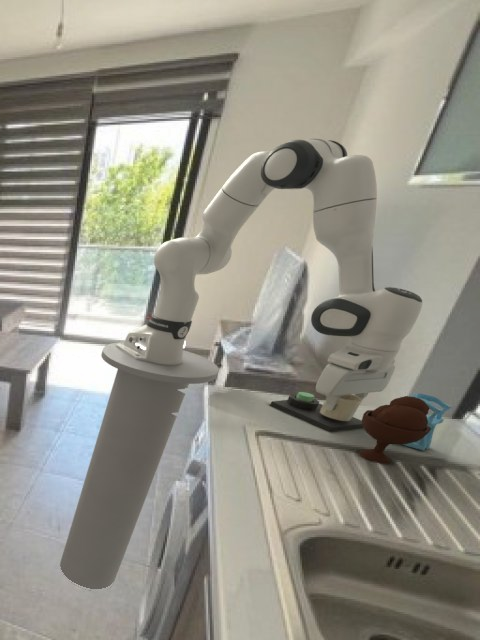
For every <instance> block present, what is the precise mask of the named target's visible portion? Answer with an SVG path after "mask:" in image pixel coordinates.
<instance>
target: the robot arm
mask: <svg viewBox="0 0 480 640" xmlns="http://www.w3.org/2000/svg"><path fill="white" fill-rule="evenodd" d="M275 189H277V190H302V189H306V190H309V191H310V193H311V194H312V198H313V207H312V224H313V225H312V226H313V232H314V236H315V239H316V241H317V242H318V243H319V244H320V245H322V246H323V247H325V248H326V249H327V250H329V251H330V252H331V253H332V255H334V257H335V259H336V262H337V269H338V271H337V272H338V295H337V296H335V297H332V298H329V299H327V300H324V301H322V302H321V303H319V304H318V305H317V306H316V307H315V308H314V309H313V311H312V313H311V316H310V322H311V325H312V328H313V329H314V330H315V331H316V332H318V333H319V334H322V335H325V336H331V337H349V338H351V340H350V341H349V343H348V345H346V346H344V347H343V348H341V349H339V350H337V351H335V352H333V353H331V354H330V355H328V358H327V363H328V364H327V365H326V366H325V367H324V368H323V370H322V372H321V374H320V376H319V377H318V380H317V382H316V385H315V392H316V393H318V394H320V395H323V396H325V400H326V404H325V406H324V408H325V409H327V410H335V409H336V407H337V405H338V404H336V402H337V399H339V398H340V396H341V395H350V394H352V395H354V396H357V397H359V398H361V399H362V401H363V400H364V399H365V398H366V397H367V396H368V395H369V394H370V393H376V392H377V393H380V392H382V391H384V390H385V389H386V388H387V386H388V384H389V382H390V381H391V379H392V377H393V375H394V372H395V368H396V367H395V366H396V365H395V362H396V360H395V358H396V357H397V355H398V353H399V352H400V349H401V345H402V342H403V340H404V339H405V338H406V337H407V336H408V335H409V334H410V332H411V330H412V329H413V327H414V325H415V324H416V321H417V319H418V318H419V315H420V313H421V311H422V307H423V299H422V298H421V296H420V295H418V294H417V293H415V292H412V291H410V290H406V289H402V288H399V287H391V286H388V287H386V286H385V287H383V288H381V289H378V290H376V288H375V282H374V281H375V279H374V252H373V251H374V249H373V248H374V247H373V246H374V245H373V243H374V231H375V223H376V216H377V215H376V213H377V201H378V196H377V195H378V188H377V177H376V171H375V166H374V162H373V161H372V158H370V157H369V156H367V155H363V154H351V155H348V151H347V149H346V148H345V146H344V145H343V144H342V143H340V142H338V141H336V140H331V139H330V140H328V139H323V138H309V139H294V140H293V139H292V140H289V141H286V142H283V143H281V144H278V145H277V146H275V147H274V148H273V149H272V150H270V151H257V152H254V153H252V154H251V155H250V156H248V157H247V158H246V159H245V160H244V161H243V162H242V163H241V164H240V165H239V167H237V168H236V170H235V171H234V172H233V173H231V175H230V176H229V178H227V180H226V181H225V183H224V184H223V185H222V186H221V188H220V189H219V190H218V192H217V193H216V194H215V195H214V197H213V198H212V200H211V201H210V202H209V204H208V205H207V206H206V207H205V209H204V211H203V212H202V221H203V225H202V227H201V230H200V231H199V233H198V234H197V235H196V236H194V237H178V238H174V239H171V240H166V241H165V242H163V243H161V245H159V247H158V248H157V249H156V251H155V254H154V258H153V263H154V267H155V269H156V270H157V272H158V275H159V277H160V291H159V296H158V299H157V303H156V306H155V309H154V313H153V314H152V315H147V317H145V320H147V322H146V324H143V325H142V326H140V327H137V328H135V329H132V330H131V331H129V332H128V334H127V335H126V337H125V339H124V341H122V342H123V343H118V342H117V343H118V344H117V345H116V347H117V348H118V349H120V350H121V351H123V352H125V353H126V354H128V355H129V356H131V357H132V358H134V359H136V360H139V361H147V362H151V363H156V364H163V365H178V364H181V363H182V354H183V350H184V349H185V348H186V338H187V335H188V333H189V332H190V330H191V326H192V324H193V321H192V319H193V316H194V313H195V311H196V307H197V305H198V302H199V298H200V296H199V293H198V292H197V290H196V289H195V287H196V286H195V282H196V281H195V280H196V276H198V275H200V276H201V275H209V274H212V273H215V272H218V271H221V270H222V269H224V268H225V267H226V266H227V265H228V264H229V263H230V261H231V258H232V245H233V243H234V241H235V239H236V236H237V235H238V233H239V232H240V230H241V229H242V227H243V226H244V225H245V224H246V222H247V221H248V220H249V219H250V218H251V216H253V214H254V213H255V212H256V210H257V209H258V208H259V207H260V205H261V204H262V203H263V202H264V201H265V199H266V198H267V197H268V195H270V193H271V192H272V191H274V190H275Z"/></svg>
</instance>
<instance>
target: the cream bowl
mask: <svg viewBox="0 0 480 640" xmlns="http://www.w3.org/2000/svg"><path fill="white" fill-rule="evenodd" d="M354 395H355V394H350V395H341V396H340V398H339V399H337V402H336V404H338V405H337V407H336V409H335V410H327V409H325V408H324V406H325V404H326V399H325V401H324V402H323V404H322V405H323V406H322V408H321V410H320V413H321V414H322V415H324V416H326V417H329V418H332V419H336V420H341V421H350V420H351V419H352V417H355V414H356V413H357V411H358V409H359V408H360V405H361V404H362V402H363V400H362V399H361V398H359V397H357V396H354Z"/></svg>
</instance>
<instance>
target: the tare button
mask: <svg viewBox="0 0 480 640" xmlns="http://www.w3.org/2000/svg"><path fill="white" fill-rule="evenodd" d="M296 394H297V396H296V399H299V400H301V401H305V402H312V401H313V399H315V395H314V394H312V393H309V392H306V391H298V393H296Z"/></svg>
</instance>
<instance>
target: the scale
mask: <svg viewBox="0 0 480 640" xmlns="http://www.w3.org/2000/svg"><path fill="white" fill-rule="evenodd" d="M297 394H298V393H292V394H291V393H290V394H289V396H288V398H287V399H282V400H272V401H271V402H270V404H269V406H271V407H272V408H275V409H277V410H279V411H283V412H285V414H286V413H287V414H289V415H291V416H293V417H295V418H298V419H300V420H302V421H304V422H307V423H309V424H312V425H314V426H316V427H318V428H321V429H322V430H325V431H327V432H329V433H330V432H338V431H347V430H355V429H362V428H363V429H364V427H363V426H362V419H359V418H356V417H355V416H353V417H352V419H351V420H350V421H341V420H336V419H332V418H329V417H326V416H324V415H322V414H321V413H320V410H321V408H322V406H323V404H321V403H320V401H319V400H317V399H316V398H314V399H313V401H312V402H305V401H301V400H299V399H296V396H297Z"/></svg>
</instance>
